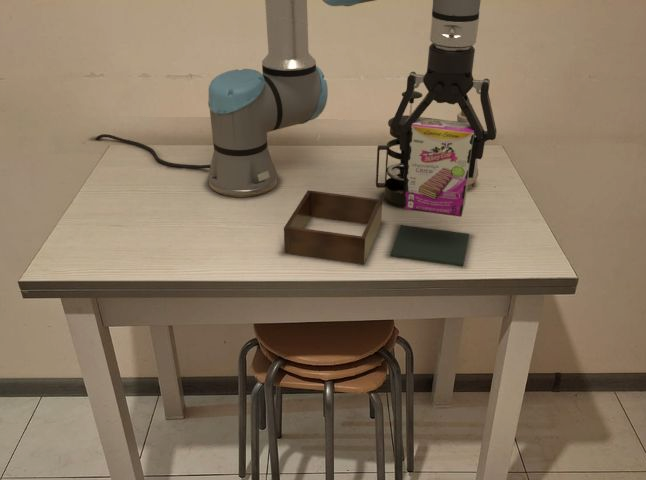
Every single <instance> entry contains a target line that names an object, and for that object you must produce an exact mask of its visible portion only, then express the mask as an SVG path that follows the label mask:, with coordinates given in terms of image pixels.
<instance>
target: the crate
mask: <svg viewBox="0 0 646 480" xmlns="http://www.w3.org/2000/svg"><path fill="white" fill-rule="evenodd" d="M382 209H383V199H380V198H372V197H363V196H356V195H348V194H340V193H333V192H326V191H318V190H317V191H316V190H308V189H307V190H306V192H305V194H304V195H303V197H302V198H301V200H300V202H299V203H298V205H297V206H296V208H295V210H294V211H293V213H292V214H291V216H290V217H289V219H288V220H287V222H286V223H285V225H284V226H283V242H284V243H283V245H284V254H287V255H295V256H301V257H307V258H308V257H309V258H317V259H322V260H329V261H337V262H343V263H350V264H351V263H352V264H359V265H365V263H366V261H367V258H368V256H369V254H370V251H371V249H372V247H373V244H374V242H375V239H376V237H377V234H378V232H379V230H380V227H381V225H382V214H383V213H382V211H383V210H382ZM311 217H312V218H320V219H328V220H334V221H335V220H336V221H343V222H350V223H357V224H365V225H366V226H365V229H364V230H363V233H362V235H354V234H347V233H341V232H333V231H325V230H318V229H310V228H305V227H306V225H307V224H308V222H309V220H310V219H311Z"/></svg>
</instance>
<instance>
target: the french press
mask: <svg viewBox="0 0 646 480" xmlns="http://www.w3.org/2000/svg"><path fill="white" fill-rule="evenodd" d="M405 92H406V91H403V92H401V96H402V97H403V96H404V94H405ZM423 96H424V95H423V94H422V92H419V91H416V90H414V91H413V94H412V96H411V98H410V100H409V103H408V104H410V105H409V107H410V108H409V115H403V116H402V118H401V120H400V121H401V122H403V123H404V122H405V121H406V120H407V119H408V117H409V116H410V115H411V114H412V112H413V104H414V103H415V99H420V98H422V97H423ZM393 119H394V116H393V117H391V118H390V119H388V121H387V125H388V127H389V135H390V136H391V137H393V138H394V139H391V140H389V141H388V142H387V143H386V144H385V145H384V144H383V145H382V144H381V145H380V144H379V145H377V147H376V148H377V150H376V168H375V169H376V170H375V187H376V188H378V189H381V188H382V189H383V188H384V189H383V190H384V191H383V194H382V200H383V201H384V202H385V204H387V205H389V206H392V207H395V208H400V209H404V204H405V194H406V182H407V170H404V160H405V151H402V150H400V152H397V151H394V150H393V149H391V148H392V147H394V146H400V132H399V131H398V130H393V129H391V123H392V121H393ZM409 130H411V128H410V129H409ZM380 151H386V153H385V155H386V156H385V170H384V171H385V172H384V182H379V170H380ZM389 157H391V158H393V159H396V160H399V161H400V163H394V164H391V165H389V166H388V162H389ZM388 177H389V178H388ZM400 191H402V192H400Z"/></svg>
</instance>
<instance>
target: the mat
mask: <svg viewBox="0 0 646 480" xmlns="http://www.w3.org/2000/svg"><path fill="white" fill-rule="evenodd" d="M469 238H470V233H466V232H460V231H452V230H444V229H435V228H430V227H429V228H428V227H421V226H413V225H406V224H400V227H399V229H398V232H397V235H396V237H395V240H394V242H393V245H392V248H391V251H390V253H389V254H390V255H389V257H394V258H399V259H409V260H415V261H420V262H421V261H422V262H430V263H437V264H443V265H451V266H457V267H464V262H465V257H466V253H467V249H468V248H467V247H468V243H469Z"/></svg>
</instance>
